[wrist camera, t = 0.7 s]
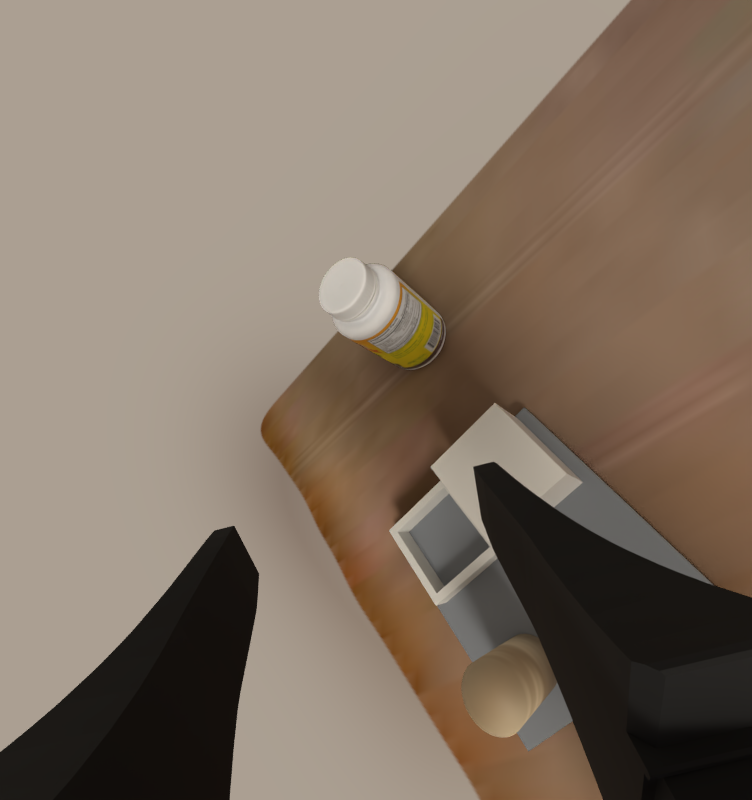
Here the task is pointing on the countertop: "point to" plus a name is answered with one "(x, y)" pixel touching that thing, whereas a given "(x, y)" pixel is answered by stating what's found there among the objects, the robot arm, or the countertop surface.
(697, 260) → the countertop surface
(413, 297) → the supplement bottle
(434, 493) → the board
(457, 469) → the cover
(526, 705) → the loose pin
